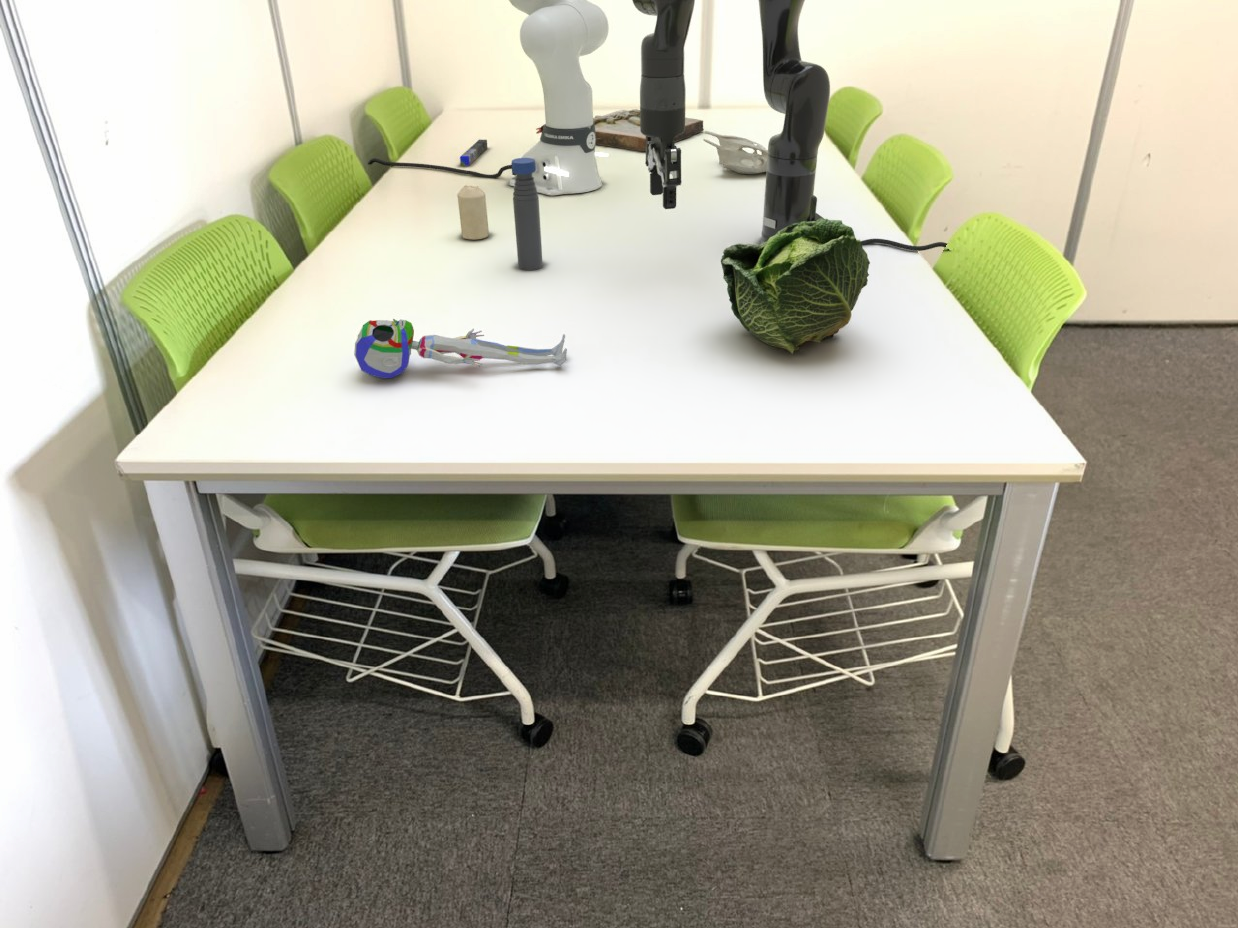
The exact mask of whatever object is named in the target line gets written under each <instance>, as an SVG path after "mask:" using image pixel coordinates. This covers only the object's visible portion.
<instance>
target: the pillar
mask: <svg viewBox="0 0 1238 928" xmlns="http://www.w3.org/2000/svg"><path fill="white" fill-rule="evenodd" d="M487 149H488V140H487V139H478V140H477V141H476V142H474V144H473V145H471V146H470V147H469V148H468V149H467V150H466V151H465V152H463V154H461V155H460V156H459V163H460V164H459V165H460V166H461V167H465V166H466V167H467V166H470V165H472V164H473V162H475V161H476V160H477V158H479V157H480V156H481V155H482V154H483V153H484V152H485V151H486V150H487Z"/></svg>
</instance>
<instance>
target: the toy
mask: <svg viewBox="0 0 1238 928" xmlns="http://www.w3.org/2000/svg"><path fill="white" fill-rule="evenodd" d="M474 331H475V328H472V329H471V330H469V331H468V332H467V333H466V334H465V335H463V336H458V337H449V336H448V337H447V336H442V335H439V334H428V335H423V336H421V338H420V339H419V341H417V340H414V336H415V329H414V326H413V324H412V322H410V321H408V320H407V319H399V320H397V319H395V318H392V320H387V319H379V320H368V321H367V322H365V323H364V324H362V326H361V329H360V331H359V333H358V334H357V338H356V340H355V342H354V354H353V355H354V357H355V359H356V362H357V364H358V366H359V369H360V370H361V372H364V373H366V374H367V375H370V376H373V377H377V378H382V379H383V378H384V379H392V378H394V377H396V376H398V375H400V374H401V375H402V374H403V372H404V371H405V370H406V368H407V367H408V366H409V364H410V357H411V355H412V350H415V351H417V353H418V356H419V357H421V358H422V359H430V360H434V361H438V362H442V363H444V364H449V365H458V364H459V365H461V364H465V365H471V366H477V367H479V368H480V367H481V366H482V365H483V363H482V362H478V361H480V360H482V359H487V360H488V359H489V360H503V361H509V362H514V363H517V364H520V365H528V366H529V365H542V364H550V363H553V364H555V365H557V366H559V367H562V366H563V364H564V362H565V361H566V360H567V357H568V355H567V353H568V348H566V347H565V348H564V345H565V340H566V334H565V333H563V334H562V338H561V340H560V341H559V343H558V344H556V345H555V346H554V347H552V348H533V347H532V348H531V347H523V346H518V345H517V346H516V345H504V344H501V343H498V342H494V341H488V340H482V339H478V338H479V337H480V338H481V337H485V334H480V333H482V332H483V331H482V330H479V331H476V332H474ZM563 349H564V350H563ZM453 353H455V354H457V355H459V357H458V356H455V355H448V354H453ZM445 354H447V355H445Z"/></svg>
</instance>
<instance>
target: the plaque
mask: <svg viewBox="0 0 1238 928" xmlns="http://www.w3.org/2000/svg"><path fill="white" fill-rule="evenodd" d="M593 123H594V124H595V133H596V144H595V145H597V146H598V145H599V146H607V147H612V148H620V149H625V150H632V151H640V152H646V136H645V135H643V134H642V133H641V131H640V109H637V108H636V109H635V108H634V109H630V110H629V109H620V110H616V111H613V112H610V113H608V114H602V115H594V117H593ZM704 130H705V129H704V120H702V119H698V118H693V117H686V116H685V131H684V133H683V134H681V135H677V136H676V137H675V138H674V143H676V142H680V141H682V140H684V139H687V138H691V137H692V136H694V135H696V134H698V133H700V132H705V131H704Z"/></svg>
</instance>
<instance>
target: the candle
mask: <svg viewBox="0 0 1238 928" xmlns="http://www.w3.org/2000/svg"><path fill="white" fill-rule="evenodd" d="M456 196H457V202H458V203H457V205H458V211H459V223H460V229H461V236H462V238H463V239H465V240H482V239H485V238H488V236H490V229H489V219H488V209H487V208H488V207H487V197H486V192H485V191H484V190H483V189H482V188H481V187H479V186H473V185H467V184H465V185H464V186H462V188H461V189H460V190H459V192H458V193H457V195H456Z"/></svg>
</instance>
